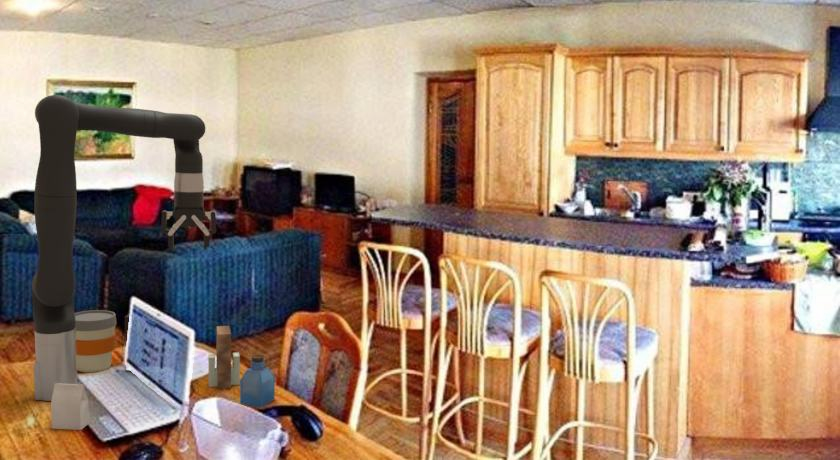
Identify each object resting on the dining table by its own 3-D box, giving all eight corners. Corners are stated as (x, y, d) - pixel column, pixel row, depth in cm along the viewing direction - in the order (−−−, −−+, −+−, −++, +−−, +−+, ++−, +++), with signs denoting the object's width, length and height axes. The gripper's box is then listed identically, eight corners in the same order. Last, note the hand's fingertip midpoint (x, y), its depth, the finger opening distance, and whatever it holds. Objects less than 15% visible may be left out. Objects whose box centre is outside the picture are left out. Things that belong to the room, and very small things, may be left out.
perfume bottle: (274, 399, 187) (274, 354, 185) (261, 407, 181) (261, 361, 179) (253, 395, 189) (253, 351, 187) (240, 403, 183) (240, 357, 181)
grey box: (80, 430, 164) (79, 387, 162) (51, 428, 164) (50, 386, 163) (88, 423, 167) (87, 382, 166) (60, 422, 168) (58, 380, 166)
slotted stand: (208, 386, 193) (208, 358, 192) (208, 382, 197) (208, 354, 195) (239, 384, 196) (239, 356, 195) (238, 380, 199) (238, 352, 198)
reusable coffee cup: (86, 358, 212) (84, 308, 210) (126, 361, 211) (125, 311, 209) (59, 372, 200) (57, 319, 198) (101, 375, 198) (100, 322, 196)
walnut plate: (217, 389, 192) (217, 334, 190) (216, 379, 199) (216, 326, 197) (230, 388, 193) (231, 333, 191) (229, 378, 200) (229, 325, 198)
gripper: (160, 190, 188) (160, 251, 190) (216, 191, 192) (216, 251, 194) (161, 187, 195) (161, 247, 197) (216, 188, 199) (215, 246, 201)
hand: (188, 249), depth 196 cm, fingers open, 8 cm apart
